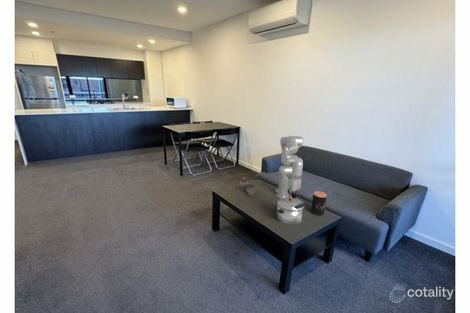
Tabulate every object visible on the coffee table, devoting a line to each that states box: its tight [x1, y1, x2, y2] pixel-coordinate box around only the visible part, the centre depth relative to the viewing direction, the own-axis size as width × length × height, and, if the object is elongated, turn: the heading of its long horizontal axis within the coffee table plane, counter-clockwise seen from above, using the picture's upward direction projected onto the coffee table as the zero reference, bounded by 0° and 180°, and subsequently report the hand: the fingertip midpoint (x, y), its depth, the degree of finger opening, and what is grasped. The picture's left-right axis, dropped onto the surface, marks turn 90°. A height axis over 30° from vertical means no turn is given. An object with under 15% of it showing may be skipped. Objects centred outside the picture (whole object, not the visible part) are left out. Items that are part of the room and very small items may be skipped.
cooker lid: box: [277, 195, 306, 211], centre depth 179 cm, size 21×21×3 cm
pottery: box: [238, 176, 258, 196], centre depth 228 cm, size 11×25×12 cm, turn 31°
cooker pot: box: [276, 201, 304, 226], centre depth 181 cm, size 21×26×12 cm
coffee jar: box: [310, 190, 328, 216], centre depth 189 cm, size 11×11×18 cm
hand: (293, 197), depth 176 cm, fingers closed
